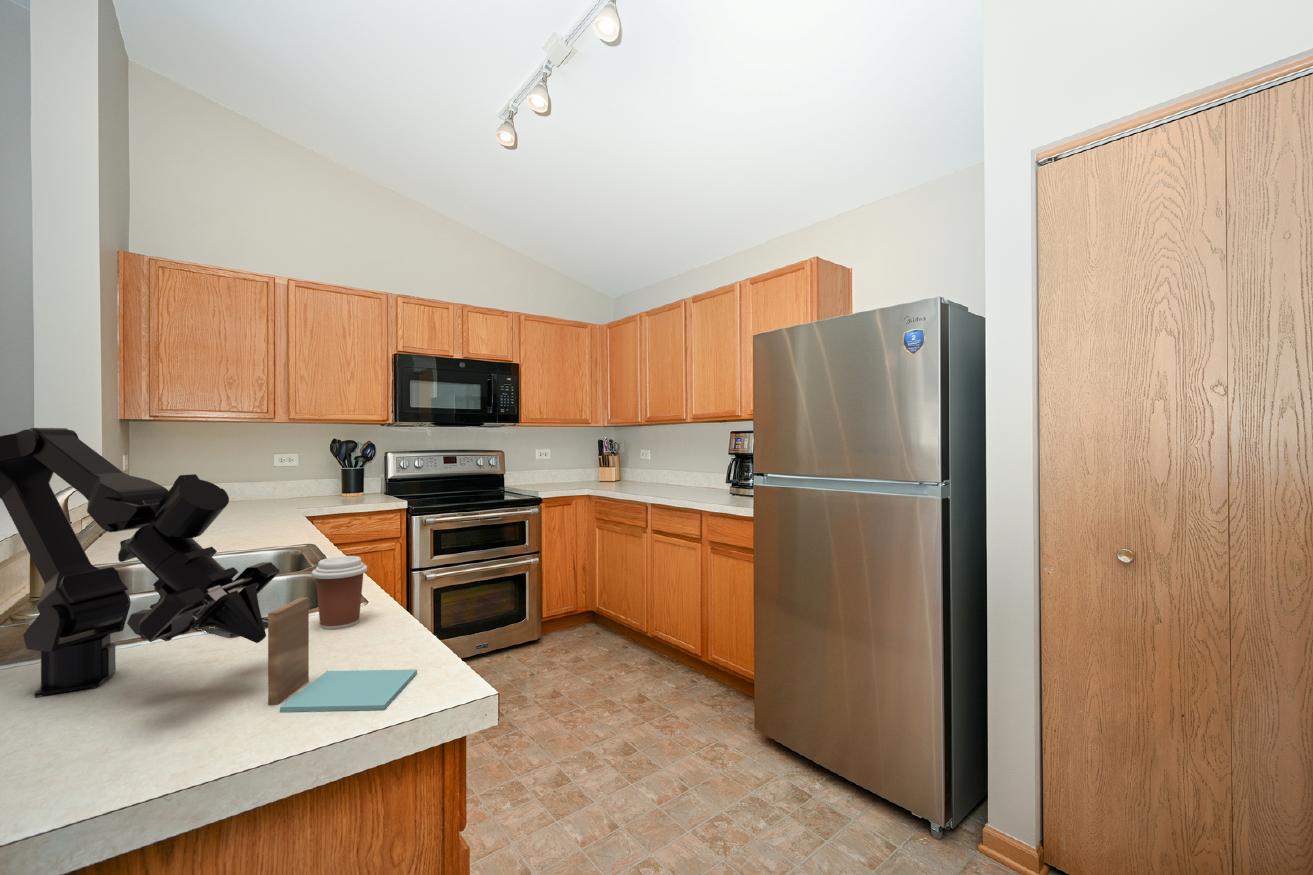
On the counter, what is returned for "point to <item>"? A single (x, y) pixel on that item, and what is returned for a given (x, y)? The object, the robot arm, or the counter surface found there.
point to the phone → (224, 632)
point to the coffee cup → (339, 591)
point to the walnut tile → (288, 650)
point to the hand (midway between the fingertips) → (262, 639)
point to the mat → (350, 691)
